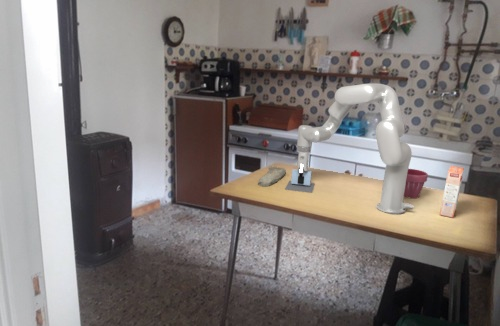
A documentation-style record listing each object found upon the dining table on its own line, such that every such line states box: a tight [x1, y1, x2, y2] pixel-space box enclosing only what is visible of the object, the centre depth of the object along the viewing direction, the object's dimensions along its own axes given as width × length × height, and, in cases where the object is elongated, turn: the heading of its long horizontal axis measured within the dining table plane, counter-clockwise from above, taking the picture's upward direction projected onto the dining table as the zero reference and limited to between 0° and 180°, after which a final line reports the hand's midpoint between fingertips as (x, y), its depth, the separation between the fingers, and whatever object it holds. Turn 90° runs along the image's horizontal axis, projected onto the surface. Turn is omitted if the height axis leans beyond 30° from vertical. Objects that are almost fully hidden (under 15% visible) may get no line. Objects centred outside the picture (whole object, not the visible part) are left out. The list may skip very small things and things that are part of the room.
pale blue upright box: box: [290, 168, 313, 186], centre depth 207 cm, size 10×4×7 cm, turn 76°
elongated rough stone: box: [257, 165, 287, 188], centre depth 218 cm, size 35×5×10 cm
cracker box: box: [439, 165, 465, 219], centre depth 176 cm, size 14×6×21 cm, turn 148°
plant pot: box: [404, 168, 429, 199], centre depth 200 cm, size 14×14×13 cm
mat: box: [284, 180, 316, 193], centre depth 206 cm, size 14×16×1 cm
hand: (301, 182), depth 207 cm, fingers closed on pale blue upright box, 4 cm apart
